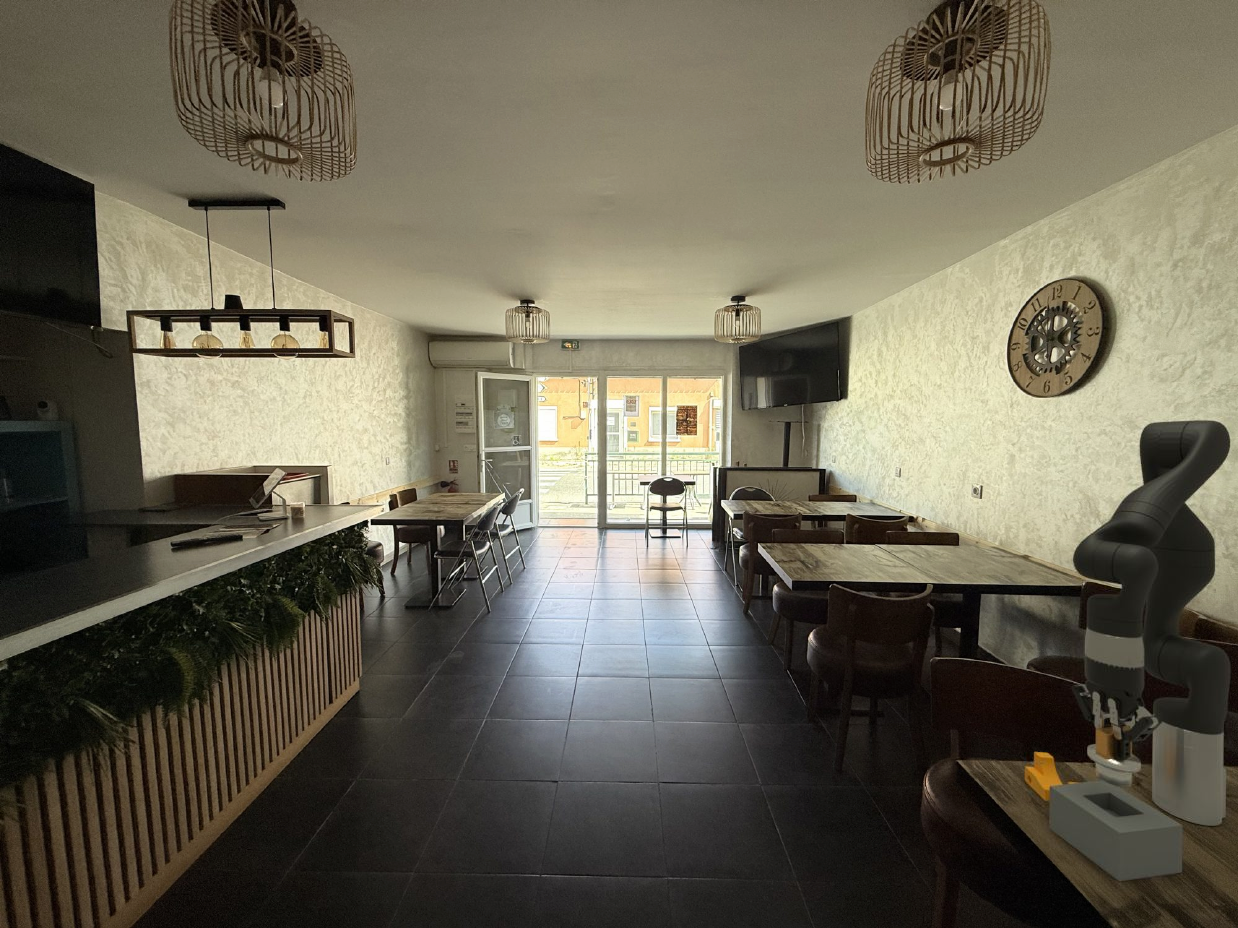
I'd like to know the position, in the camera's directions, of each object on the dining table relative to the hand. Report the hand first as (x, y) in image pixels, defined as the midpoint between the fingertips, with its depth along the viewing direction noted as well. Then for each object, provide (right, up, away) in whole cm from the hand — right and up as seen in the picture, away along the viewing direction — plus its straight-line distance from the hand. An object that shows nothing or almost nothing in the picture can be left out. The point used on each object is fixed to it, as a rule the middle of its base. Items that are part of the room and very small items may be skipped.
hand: (1113, 754), depth 91 cm
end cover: (0, -4, 0) cm, 4 cm away
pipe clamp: (+1, -17, +13) cm, 22 cm away
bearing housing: (0, -17, 0) cm, 17 cm away
